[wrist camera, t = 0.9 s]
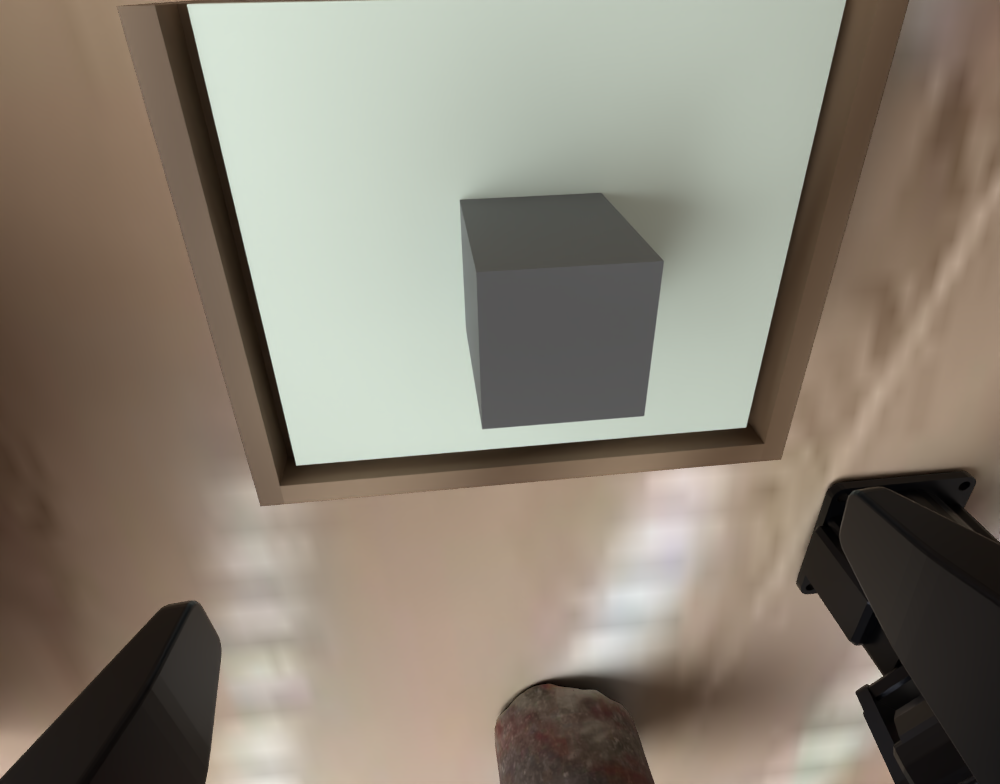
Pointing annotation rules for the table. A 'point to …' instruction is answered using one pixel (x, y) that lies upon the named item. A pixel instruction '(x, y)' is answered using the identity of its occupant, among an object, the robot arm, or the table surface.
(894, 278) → the table surface
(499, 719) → the rusty brown cylinder
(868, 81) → the walnut box
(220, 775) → the table surface
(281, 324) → the cover plate
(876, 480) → the robot arm
